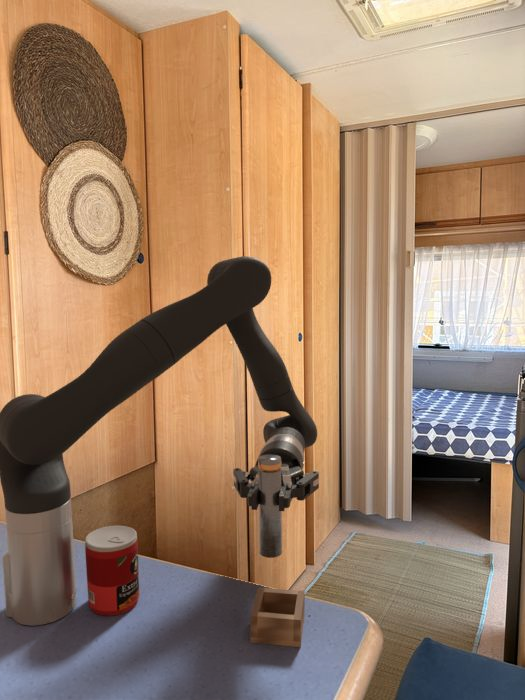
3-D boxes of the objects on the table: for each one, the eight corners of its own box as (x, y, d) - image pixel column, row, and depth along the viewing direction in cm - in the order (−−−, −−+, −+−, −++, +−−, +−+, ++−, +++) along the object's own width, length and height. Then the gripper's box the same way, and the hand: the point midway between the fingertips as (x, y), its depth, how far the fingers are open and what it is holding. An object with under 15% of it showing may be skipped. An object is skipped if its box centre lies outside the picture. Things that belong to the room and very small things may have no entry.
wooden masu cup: (250, 642, 74) (250, 615, 74) (258, 612, 81) (258, 587, 81) (300, 647, 73) (300, 620, 73) (304, 616, 80) (304, 591, 80)
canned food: (127, 619, 80) (123, 550, 78) (78, 613, 81) (74, 545, 80) (147, 591, 87) (145, 527, 86) (103, 586, 89) (99, 523, 87)
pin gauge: (257, 557, 75) (256, 461, 73) (261, 545, 78) (259, 453, 77) (280, 558, 75) (280, 462, 73) (283, 546, 78) (282, 454, 76)
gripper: (239, 438, 90) (216, 475, 73) (323, 440, 88) (319, 479, 71) (240, 481, 91) (217, 527, 74) (323, 484, 89) (319, 532, 72)
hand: (267, 503), depth 73 cm, fingers closed on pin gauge, 3 cm apart
